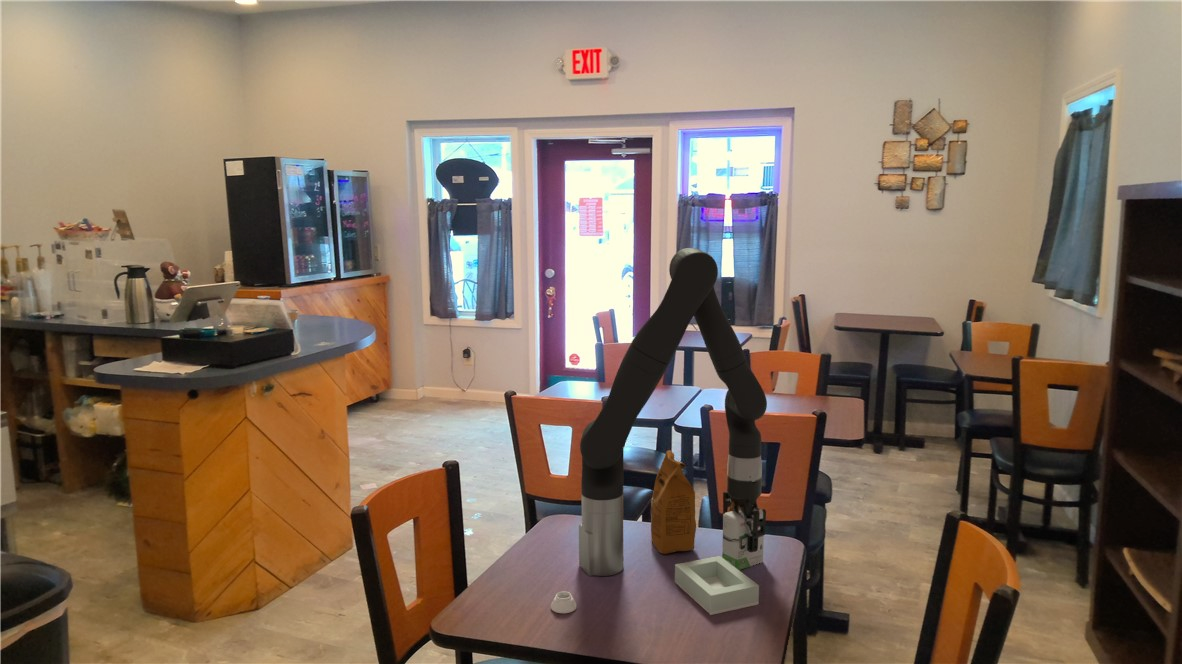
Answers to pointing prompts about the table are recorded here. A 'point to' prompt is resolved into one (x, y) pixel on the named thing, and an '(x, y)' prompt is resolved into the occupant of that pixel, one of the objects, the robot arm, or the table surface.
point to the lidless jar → (563, 603)
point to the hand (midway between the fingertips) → (743, 544)
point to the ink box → (739, 542)
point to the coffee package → (672, 508)
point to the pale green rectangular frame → (716, 585)
